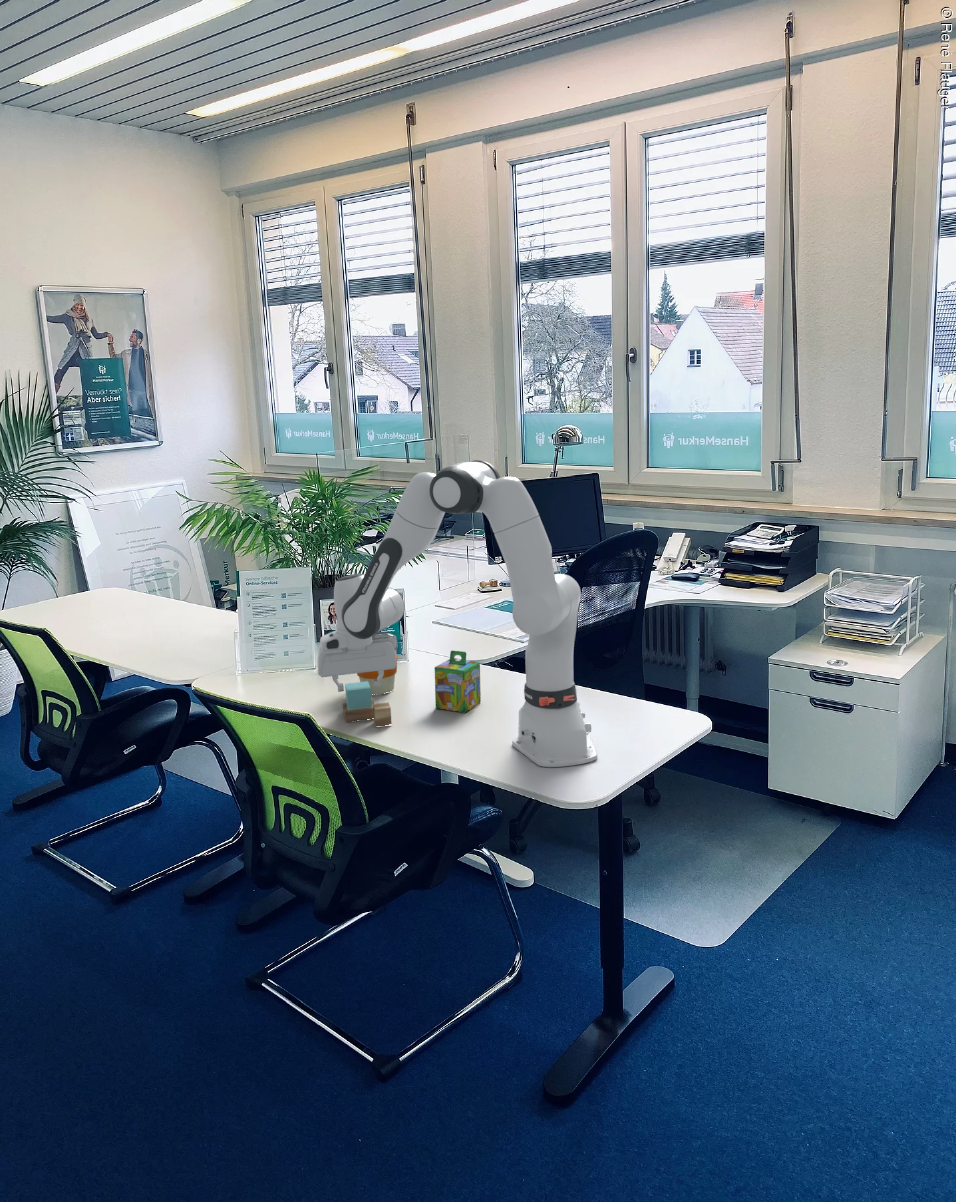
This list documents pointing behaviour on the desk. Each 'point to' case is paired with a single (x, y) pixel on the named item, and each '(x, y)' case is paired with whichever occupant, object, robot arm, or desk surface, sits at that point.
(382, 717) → the oak block
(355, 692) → the teal block
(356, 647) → the robot arm
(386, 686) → the reusable coffee cup
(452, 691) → the chalk box
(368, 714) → the walnut slab
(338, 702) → the desk surface
